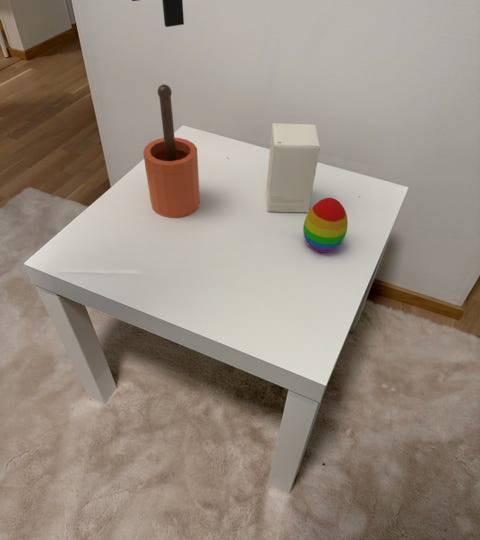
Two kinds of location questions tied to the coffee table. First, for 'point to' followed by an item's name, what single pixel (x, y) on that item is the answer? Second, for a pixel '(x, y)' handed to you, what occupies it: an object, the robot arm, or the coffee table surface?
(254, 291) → the coffee table surface
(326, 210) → the decorative egg
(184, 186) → the jar
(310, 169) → the rectangular carton
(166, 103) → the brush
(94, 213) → the coffee table surface
